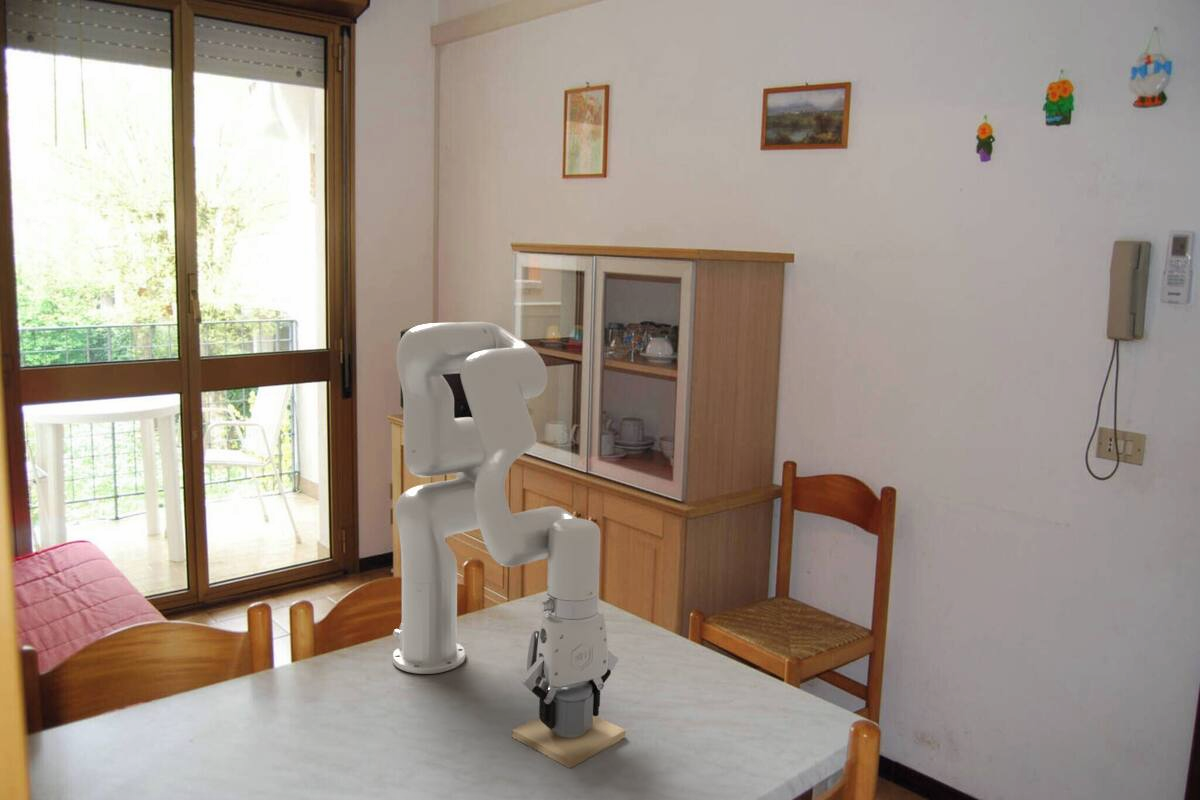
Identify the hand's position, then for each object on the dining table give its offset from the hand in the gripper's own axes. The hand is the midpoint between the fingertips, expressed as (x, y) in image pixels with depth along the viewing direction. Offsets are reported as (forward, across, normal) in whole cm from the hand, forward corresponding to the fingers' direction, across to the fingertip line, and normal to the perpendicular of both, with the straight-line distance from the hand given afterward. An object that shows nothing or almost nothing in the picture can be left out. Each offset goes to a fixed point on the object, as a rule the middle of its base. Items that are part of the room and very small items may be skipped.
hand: (569, 717), depth 137 cm
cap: (+1, 0, 0) cm, 1 cm away
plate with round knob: (+3, 0, 0) cm, 3 cm away
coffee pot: (+4, +7, +16) cm, 18 cm away
